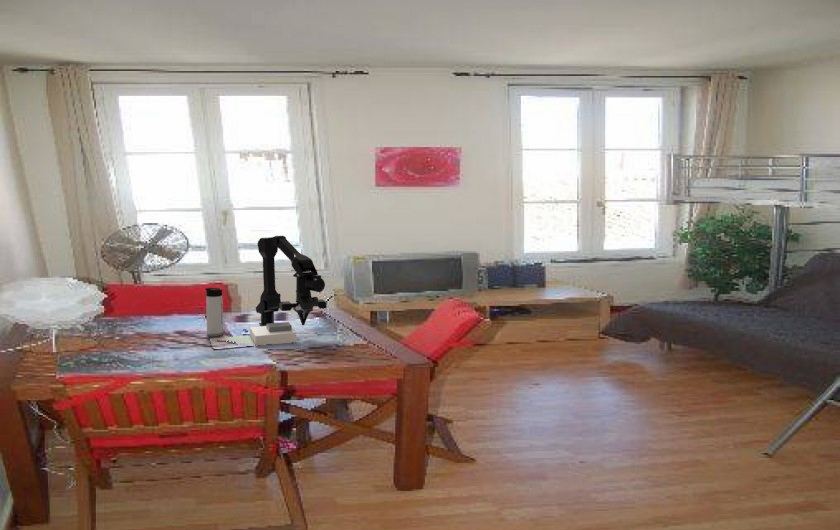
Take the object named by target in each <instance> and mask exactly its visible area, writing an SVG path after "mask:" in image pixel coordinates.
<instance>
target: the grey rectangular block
mask: <svg viewBox="0 0 840 530" xmlns="http://www.w3.org/2000/svg"><path fill="white" fill-rule="evenodd" d="M292 328H293V326H292V324H291V323H290V322H289V321H284V322H283V321H282V322H274V323H269V324H266V329H267V330H268V331H269V332H277V331H289V330H292Z"/></svg>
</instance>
